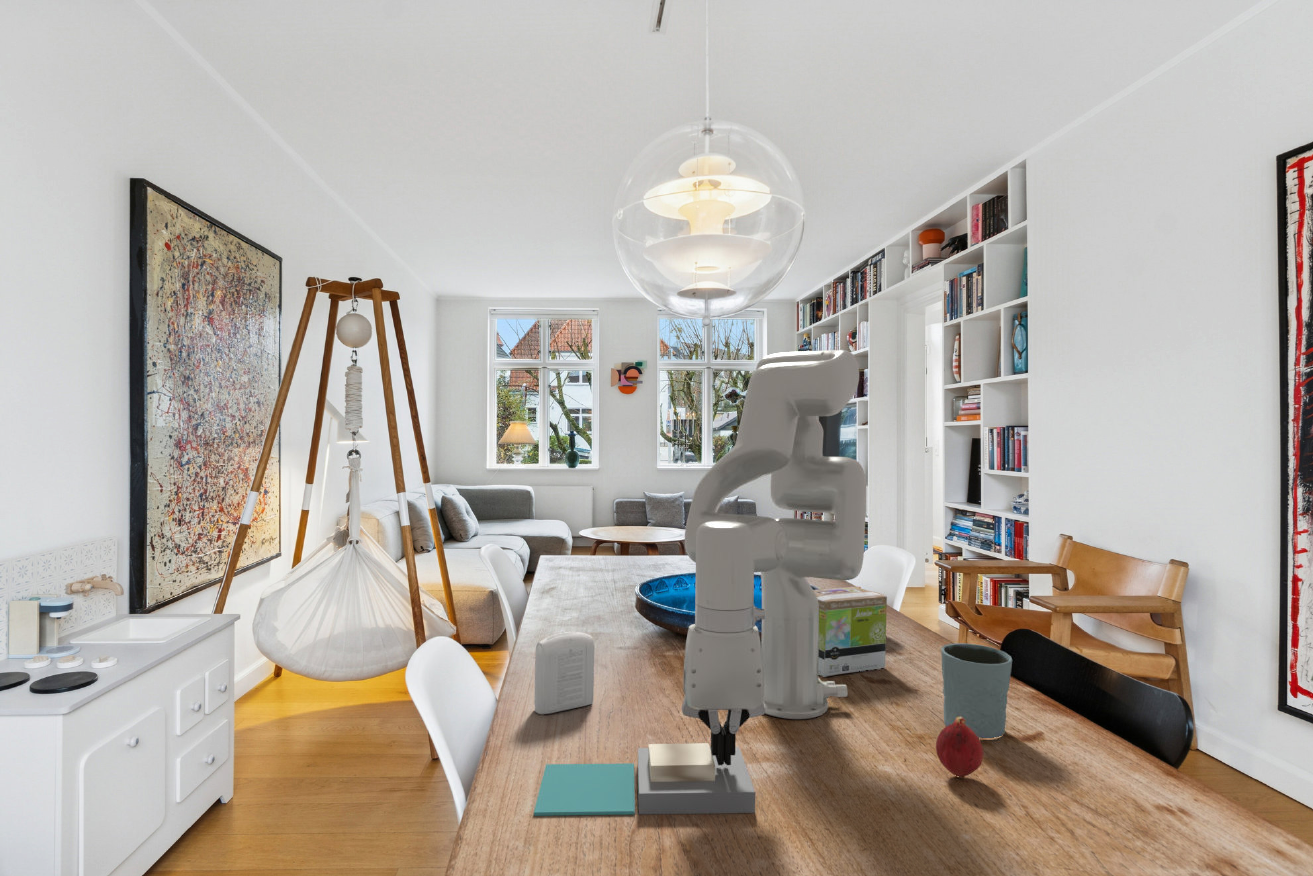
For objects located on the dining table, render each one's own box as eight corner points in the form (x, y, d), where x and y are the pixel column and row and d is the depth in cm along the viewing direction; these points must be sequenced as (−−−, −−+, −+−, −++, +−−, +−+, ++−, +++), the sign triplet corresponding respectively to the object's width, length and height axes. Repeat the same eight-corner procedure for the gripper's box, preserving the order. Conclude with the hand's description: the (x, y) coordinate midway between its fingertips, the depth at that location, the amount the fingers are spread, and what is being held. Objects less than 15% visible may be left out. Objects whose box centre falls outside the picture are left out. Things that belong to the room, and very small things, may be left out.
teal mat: (633, 766, 93) (634, 763, 93) (634, 814, 81) (634, 811, 81) (546, 767, 93) (546, 764, 93) (533, 815, 81) (533, 812, 81)
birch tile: (708, 758, 91) (708, 743, 91) (714, 780, 85) (715, 764, 85) (648, 759, 90) (648, 744, 90) (650, 782, 84) (650, 765, 84)
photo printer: (585, 696, 119) (586, 625, 119) (597, 705, 115) (598, 631, 115) (530, 709, 113) (531, 634, 113) (541, 718, 109) (541, 641, 109)
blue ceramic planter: (955, 711, 114) (956, 639, 114) (1021, 730, 107) (1021, 653, 107) (929, 728, 107) (930, 652, 107) (997, 750, 99) (998, 668, 99)
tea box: (825, 679, 128) (825, 601, 129) (794, 663, 138) (794, 590, 138) (887, 669, 134) (888, 594, 135) (853, 654, 144) (854, 584, 144)
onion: (980, 793, 87) (980, 730, 87) (932, 780, 90) (932, 720, 90) (985, 774, 92) (985, 715, 92) (940, 763, 95) (940, 706, 95)
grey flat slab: (739, 765, 94) (739, 747, 94) (755, 813, 82) (755, 792, 82) (637, 766, 93) (637, 748, 93) (638, 814, 82) (639, 793, 82)
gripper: (775, 610, 92) (773, 746, 92) (664, 611, 91) (663, 748, 91) (788, 625, 85) (787, 774, 84) (668, 626, 84) (666, 775, 84)
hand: (722, 760), depth 88 cm, fingers closed
